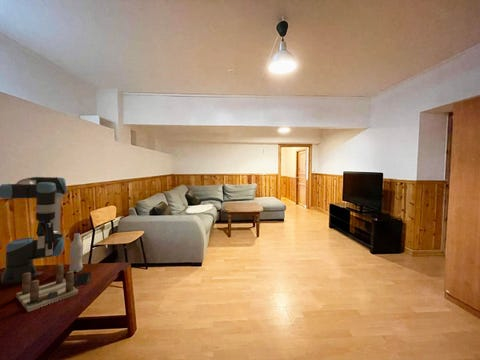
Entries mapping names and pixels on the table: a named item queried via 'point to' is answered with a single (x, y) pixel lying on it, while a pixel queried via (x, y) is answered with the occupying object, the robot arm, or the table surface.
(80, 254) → the water bottle
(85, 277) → the phone
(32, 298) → the hinged leg
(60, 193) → the robot arm
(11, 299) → the table surface
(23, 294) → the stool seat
